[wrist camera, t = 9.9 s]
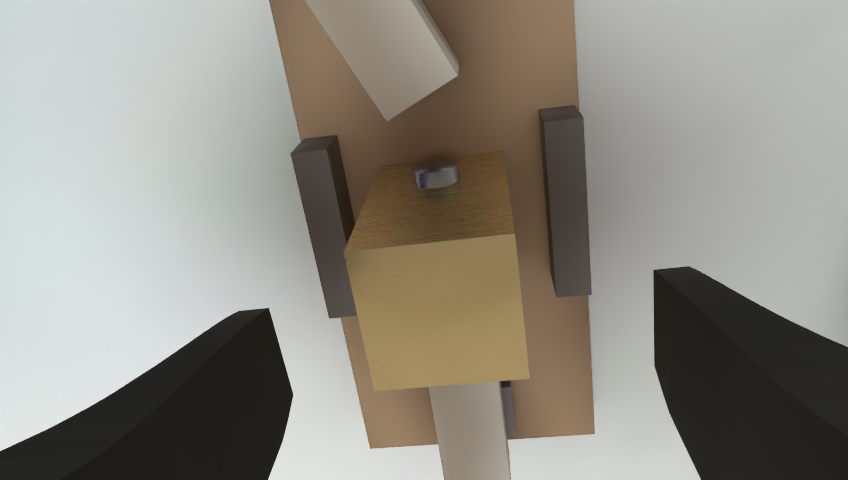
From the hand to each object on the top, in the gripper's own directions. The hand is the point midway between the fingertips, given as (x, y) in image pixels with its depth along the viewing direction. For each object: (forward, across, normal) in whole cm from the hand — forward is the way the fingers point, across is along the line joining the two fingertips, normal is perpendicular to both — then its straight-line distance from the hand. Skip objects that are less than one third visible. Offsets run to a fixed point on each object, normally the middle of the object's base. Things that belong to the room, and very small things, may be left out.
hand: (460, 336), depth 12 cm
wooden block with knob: (+8, +1, +1) cm, 8 cm away
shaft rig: (+9, +1, 0) cm, 9 cm away
